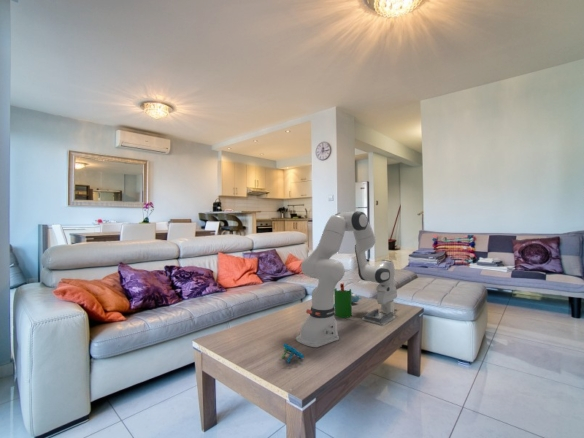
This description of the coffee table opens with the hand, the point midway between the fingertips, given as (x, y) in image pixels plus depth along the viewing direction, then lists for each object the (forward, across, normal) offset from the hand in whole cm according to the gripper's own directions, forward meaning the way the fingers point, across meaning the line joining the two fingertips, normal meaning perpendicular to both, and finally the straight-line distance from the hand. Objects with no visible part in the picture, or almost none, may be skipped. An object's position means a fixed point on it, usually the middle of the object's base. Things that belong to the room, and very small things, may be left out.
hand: (387, 308), depth 171 cm
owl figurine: (+3, -2, -30) cm, 30 cm away
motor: (+3, +22, -18) cm, 29 cm away
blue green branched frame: (+3, +80, -4) cm, 81 cm away
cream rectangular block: (+3, 0, 0) cm, 3 cm away
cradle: (+3, +14, +1) cm, 14 cm away
